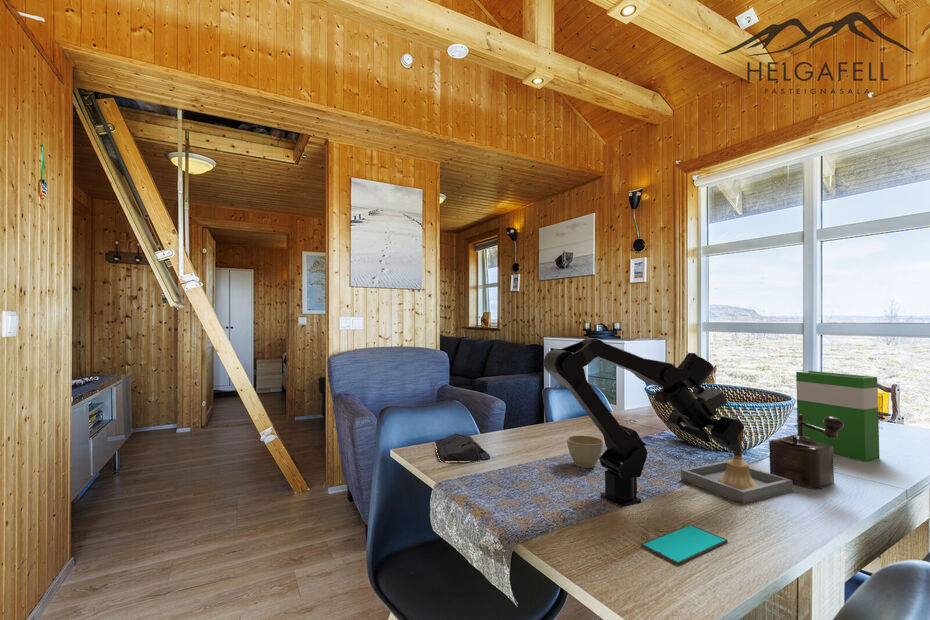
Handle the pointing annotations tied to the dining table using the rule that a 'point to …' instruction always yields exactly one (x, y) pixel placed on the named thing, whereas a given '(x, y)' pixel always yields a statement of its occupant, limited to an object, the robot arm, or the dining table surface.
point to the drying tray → (709, 480)
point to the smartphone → (684, 544)
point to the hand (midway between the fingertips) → (723, 446)
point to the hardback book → (841, 411)
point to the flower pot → (585, 450)
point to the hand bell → (738, 471)
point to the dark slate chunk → (460, 449)
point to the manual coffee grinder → (805, 455)
